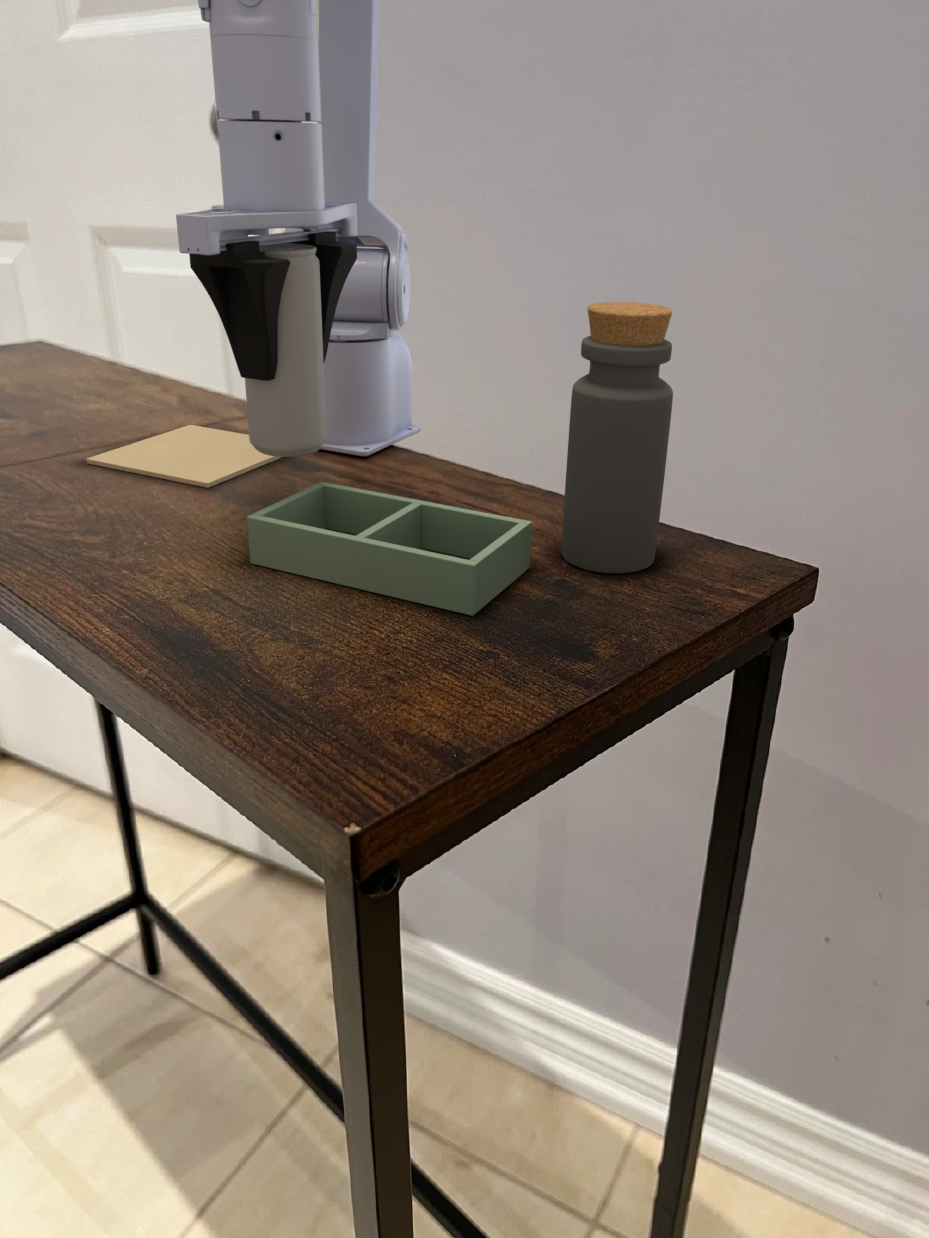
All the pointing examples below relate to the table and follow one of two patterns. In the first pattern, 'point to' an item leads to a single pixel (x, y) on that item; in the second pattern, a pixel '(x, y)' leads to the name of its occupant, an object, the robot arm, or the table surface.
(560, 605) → the table surface
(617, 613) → the table surface
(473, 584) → the divided storage tray
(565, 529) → the bottle
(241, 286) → the robot arm
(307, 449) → the beverage can
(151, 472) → the mat
